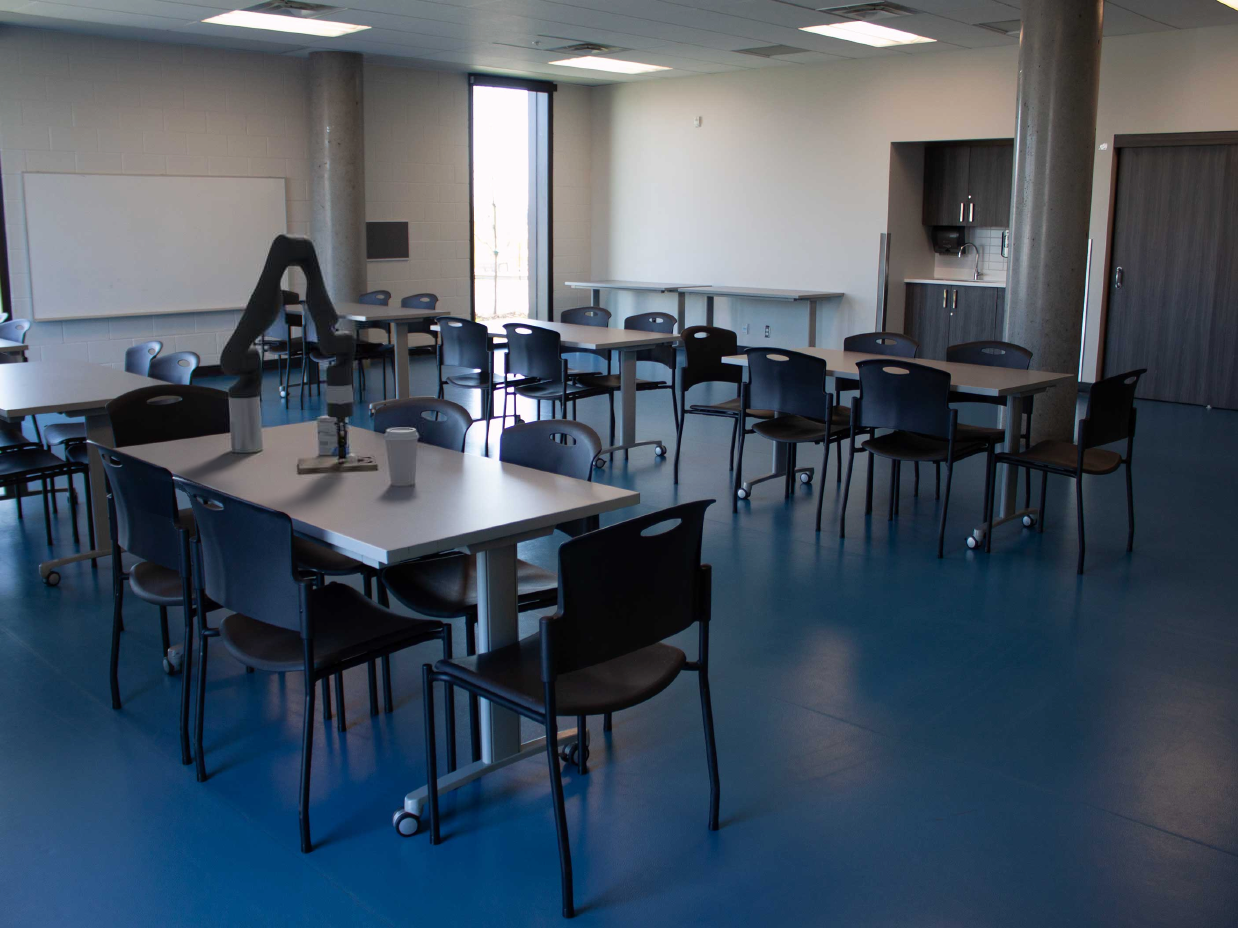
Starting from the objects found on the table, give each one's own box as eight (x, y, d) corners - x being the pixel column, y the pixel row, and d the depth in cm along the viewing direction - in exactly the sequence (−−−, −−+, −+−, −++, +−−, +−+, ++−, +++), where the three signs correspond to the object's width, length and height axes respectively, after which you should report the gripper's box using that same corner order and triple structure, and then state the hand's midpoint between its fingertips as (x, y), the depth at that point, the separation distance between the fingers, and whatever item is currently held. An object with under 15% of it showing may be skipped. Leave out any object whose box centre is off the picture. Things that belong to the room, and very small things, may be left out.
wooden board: (299, 473, 310) (298, 468, 310) (298, 463, 324) (298, 458, 324) (377, 469, 316) (377, 464, 316) (373, 459, 330) (373, 454, 330)
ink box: (350, 452, 341) (348, 415, 339) (344, 455, 337) (343, 418, 334) (323, 452, 342) (322, 415, 340) (318, 454, 338) (316, 417, 335)
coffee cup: (427, 481, 301) (425, 428, 298) (409, 488, 292) (407, 433, 289) (396, 478, 304) (394, 426, 301) (378, 485, 295) (376, 431, 292)
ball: (360, 458, 320) (355, 468, 320) (359, 455, 323) (354, 466, 324) (348, 453, 319) (343, 464, 319) (348, 451, 322) (343, 461, 322)
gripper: (325, 397, 322) (328, 455, 325) (327, 403, 310) (330, 463, 313) (351, 396, 324) (354, 453, 328) (354, 403, 312) (357, 462, 315)
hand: (342, 458), depth 320 cm, fingers closed
